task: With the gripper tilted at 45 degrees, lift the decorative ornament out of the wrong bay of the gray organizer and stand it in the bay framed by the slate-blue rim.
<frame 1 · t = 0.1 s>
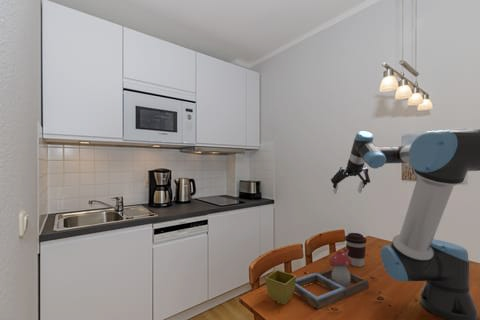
hand: (346, 191, 132), 36 cm above the table, tool tilted 35°, fingers open, 13 cm apart
coffee cup: (356, 264, 122), on the table
slate-blue rim: (316, 285, 95), on the gray organizer, point 3 cm above the table
decorative ornament: (340, 285, 102), resting in gray organizer
gray organizer: (329, 288, 98), on the table
flower pot: (281, 300, 91), on the table
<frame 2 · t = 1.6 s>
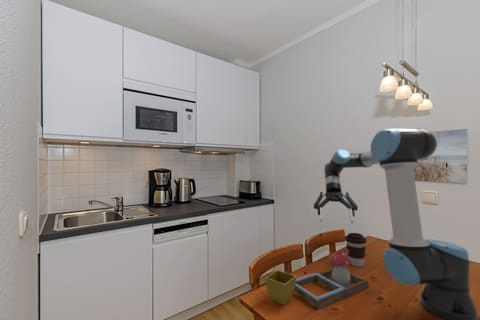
hand: (336, 221, 112), 24 cm above the table, tool tilted 45°, fingers open, 13 cm apart
nothing on the table moved.
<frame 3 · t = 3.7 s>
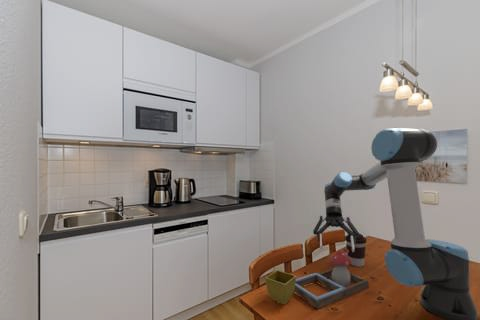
hand: (337, 249, 107), 13 cm above the table, tool tilted 45°, fingers open, 13 cm apart
nothing on the table moved.
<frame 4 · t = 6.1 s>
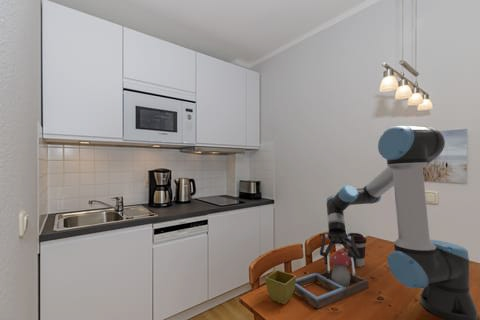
hand: (341, 273, 99), 6 cm above the table, tool tilted 45°, fingers closed on decorative ornament, 9 cm apart
decorative ornament: (340, 285, 102), resting in gray organizer, touching gripper
everything else where it was.
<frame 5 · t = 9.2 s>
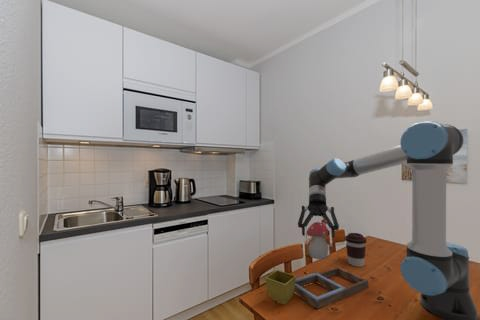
hand: (318, 243, 94), 20 cm above the table, tool tilted 45°, fingers closed on decorative ornament, 9 cm apart
decorative ornament: (318, 256, 97), point 14 cm above the table, touching gripper
everything else where it was.
when the fingers open (8 cm above the table, at t = 12.3 s): decorative ornament drops 1 cm, resting in gray organizer.
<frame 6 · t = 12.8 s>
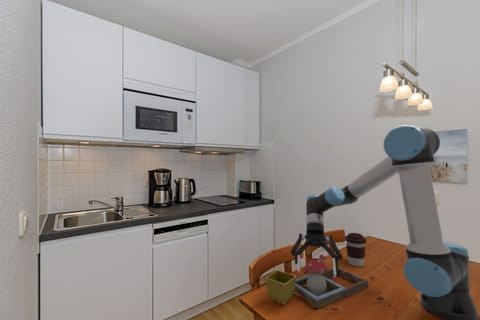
hand: (316, 274, 93), 9 cm above the table, tool tilted 45°, fingers open, 13 cm apart
decorative ornament: (316, 293, 95), resting in gray organizer
everything else where it was.
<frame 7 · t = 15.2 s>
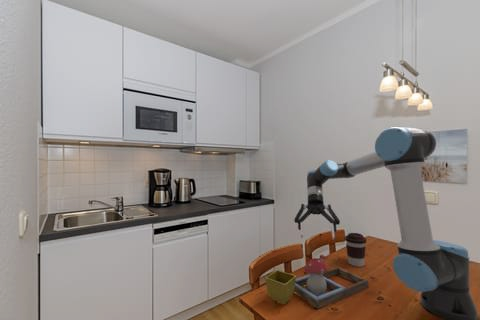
hand: (317, 237, 107), 19 cm above the table, tool tilted 40°, fingers open, 13 cm apart
nothing on the table moved.
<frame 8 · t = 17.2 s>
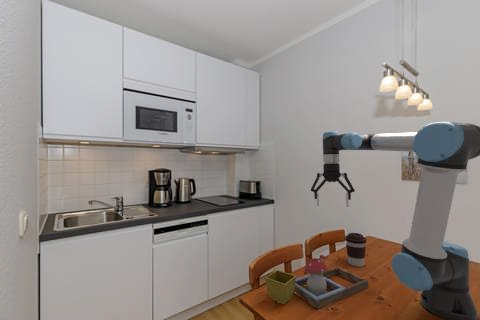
hand: (332, 206, 117), 31 cm above the table, tool pointing down, fingers open, 13 cm apart
nothing on the table moved.
at the end: decorative ornament inside the target area on the gray organizer (0.3 cm from its centre), point 0.0 cm above the gray organizer's base; decorative ornament tilted 0°; the gripper is holding nothing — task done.
